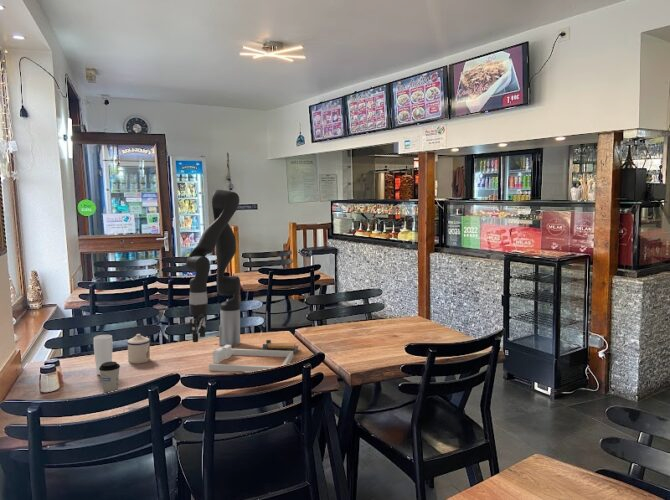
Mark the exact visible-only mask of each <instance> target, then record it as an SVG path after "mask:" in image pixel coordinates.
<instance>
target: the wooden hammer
mask: <svg viewBox="0 0 670 500" xmlns="http://www.w3.org/2000/svg"><path fill="white" fill-rule="evenodd" d="M267 344H268V348H294V347H295V346H297V344H296V342H271V343H267Z"/></svg>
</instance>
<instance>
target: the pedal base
mask: <svg viewBox="0 0 670 500" xmlns="http://www.w3.org/2000/svg"><path fill="white" fill-rule="evenodd" d="M265 342H266V343H263V344H262V347H261V349H260V350H279V351H293V356H294V355H295V356H296V353H297V352H298V350H299V345H295V347H294V348H268V344H267V343H272V340H271V339H266V341H265Z"/></svg>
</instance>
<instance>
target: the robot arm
mask: <svg viewBox="0 0 670 500" xmlns="http://www.w3.org/2000/svg"><path fill="white" fill-rule="evenodd" d="M239 205H240V196H239V194H238V193H237V192H235V191H230V190H224V189H216V190H214V191H213V193H212V197H211V208H212V213H213V214H212V215H213V220H214V221H213V222H212V223H211V224H209V225H208V226H207V227H206V228H205V229H204V231H203V233H202V234H201V236H200V239H199V241H198V243H197V245H196V246H195V247H194V249H192V251H191V252H190V254H188V257H187V258H186V261H185V267H186V269H187V270H188V271H189V272H193V273H195V275H194V277H193V278H191V279H190V280H189V295H188V296H189V298H188V299H189V300H188V301H189V303H188V304H189V307H188V308H189V314H191V315H192V316H193V317H192V318H190V319H189V333H191V334H192V343H198V342H199V338H205V337H206V328H207V327H208V311H209V309H208V308H209V307H208V306H209V305H208V300H209V299H208V286H207V285H208V283H207V282H208V278H209V275H210V270H211V262H210V260H209V258H208V257H207V256H206V255H210V254H211V253H213V251H214V249H215V253H216V254H215V255H216V256H215V257H216V291H217V294H218V296H232V297H231V298H230V299H227V300H226V301H223V302H221V303H220V305H219V306H220V307H219V308H220V309H219V311H220V317H219V318H220V325H219V326H218V336H219V337H218V339H219V341H218V343H219V346H221V347H224V346H225V345H231V347H236V346H239V345H240V344H241V303H240V302H241V300H240V297H241V295H240V294H241V279H240V277H239V276H237V275H235V276H234V275H230V276H229V275H224V274H225V271H226V270H227V267H228V266H229V264H230V262H231V261H232V259H233V258H234V257H235V254H236V253H237V238H236V235H235V233H234V231H233V229H232V228H231V226H230V224H229V222H230V220H231V219H232V218H233V217H234V215H235V213H236V211H237V210H238V208H239Z"/></svg>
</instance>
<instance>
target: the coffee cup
mask: <svg viewBox="0 0 670 500" xmlns="http://www.w3.org/2000/svg"><path fill="white" fill-rule="evenodd" d="M120 368H121V365H120V364H119V363H118V362H116V361H113V360H112V362H105V363H103V364H102V365H101V366H100V367H99V370H100V374H101V375H100V380H101V385H102V391H103V393H106V392H111V391H115V390H117V391H118V385H119V377H120V376H119V375H120ZM115 392H116V391H115ZM111 393H112V392H111ZM106 394H107V393H106Z"/></svg>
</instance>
